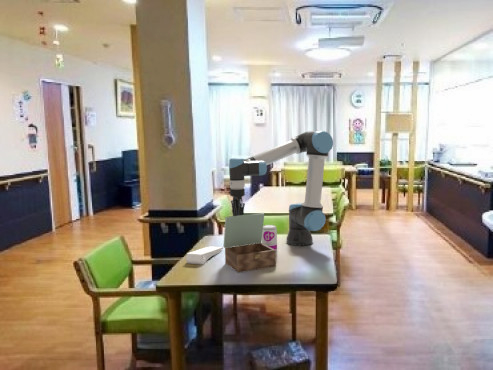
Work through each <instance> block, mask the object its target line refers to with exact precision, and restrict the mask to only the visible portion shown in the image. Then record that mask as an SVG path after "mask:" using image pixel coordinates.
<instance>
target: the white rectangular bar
mask: <svg viewBox="0 0 493 370" xmlns="http://www.w3.org/2000/svg"><path fill="white" fill-rule="evenodd" d="M222 250H224V247H223V246H206V247H202V248H199V249H196V250H194V251H191V252H187V253H186V259H185V260H186V263H187V264H190V265H191V264H194V265H204V264H205V263H206V262H207V261H208V260H209V259H210V258H211V257H213V256H215V255H218V254H219V253H220V252H222Z"/></svg>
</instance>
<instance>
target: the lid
mask: <svg viewBox="0 0 493 370" xmlns="http://www.w3.org/2000/svg"><path fill="white" fill-rule="evenodd" d="M264 220H265V213H264V212H259V213H258V212H257V213H251V214H250V213H248V214H244V215H239V216H233V215H232V216H226V217H225V222H224V231H223V232H224V236H223V246H222V247H223V249H225V248H228V247H235V246H241V245H248V244H255V243H262V231H263V226H264Z"/></svg>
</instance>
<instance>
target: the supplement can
mask: <svg viewBox="0 0 493 370" xmlns="http://www.w3.org/2000/svg"><path fill="white" fill-rule="evenodd" d="M261 243H263V244H265V245H267V246H269V247H271V248H273V249H275V250H276V254H278V229H277V227H276V225H274V224H265V225H264V224H263V231H262V241H261Z"/></svg>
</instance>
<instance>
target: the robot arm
mask: <svg viewBox="0 0 493 370" xmlns="http://www.w3.org/2000/svg"><path fill="white" fill-rule="evenodd" d="M333 146H334V139H333V137H332V136H331V134H330V133H329V132H327V131H324V130H307V131H305V132H303V133H300V134H299V135H296V136H293V137H292V138H290V140H288V141H287V142H284V143H281V144H279V145H277V146H274V147H272V148H269V149H268V150H265V151H263V152H260V153H257V154H255V155H252V156H250V157H248V158H244V157H231V158H229V164H228V170H229V172H228V173H229V182H228V184H229V188H230V189H229V195H230V197H232V199H231V200H230V204H231V210H232V211H231V212H232V216H239V215H245V213H244V212H245V206H246V205H245V204H246V203H245V202H244V201H243V197H244V196H245V195H246V193H245V189H246V188H245V186H246V185H245V177H251V176H252V177H253V176H254V177H256V176H264V175H266V174H267V171H268V167H267V166H268V165H271V164H274V163H276V162H278V161H281V160H283V159H285V158H287V157H290V156H292V155H294V154H296V155H299V154H301V153H306V157H307V158H308V165H307V175H306V184H305V196H304V202H302V203H301V202H298V203H290V204H289V207H288V219H289V221H288V223H289V225H288V227H289V230H288V231H287V232H288V233H287V235H286V244H287V245H290V246H302V247H303V246H308V245H311V244H313V236H312V233H311V231H312V232H317V231H319V230H321V229H322V228H323V227H324V225H325V224H326V221H327V220H326V215H325V213H324V212H323V210H324V209H323V208H324V206H323V205H322V203H321V202H322V201H321V200H322V189H323V180H324V172H325V160H326V159H327V158H329V152H331V150H332V149H333Z"/></svg>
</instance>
